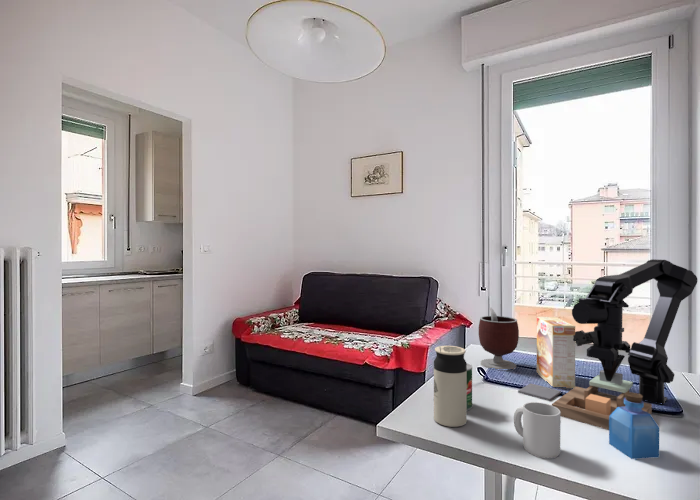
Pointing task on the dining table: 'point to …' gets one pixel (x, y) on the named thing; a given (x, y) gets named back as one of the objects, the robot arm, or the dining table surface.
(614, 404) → the puzzle board
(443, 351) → the travel mug
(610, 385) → the lid
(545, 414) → the cup
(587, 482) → the dining table surface
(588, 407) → the block
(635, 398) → the perfume bottle
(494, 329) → the mate gourd
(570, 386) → the coffeecake box
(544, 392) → the mat
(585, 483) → the dining table surface
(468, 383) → the canned tomato
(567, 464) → the dining table surface
